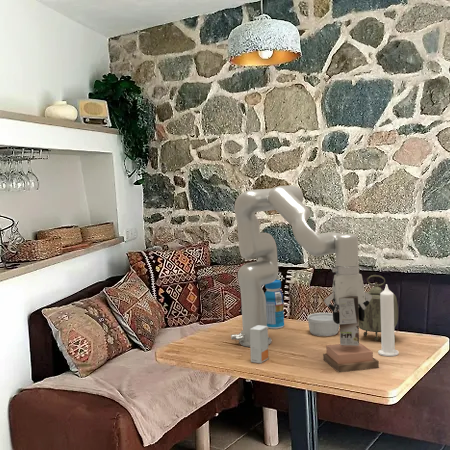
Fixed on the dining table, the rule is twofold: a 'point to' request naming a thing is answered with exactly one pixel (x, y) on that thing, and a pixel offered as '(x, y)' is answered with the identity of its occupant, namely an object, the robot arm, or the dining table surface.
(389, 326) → the candle
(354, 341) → the coffee box
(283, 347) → the dining table surface
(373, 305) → the tabletop clock
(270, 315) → the beverage bottle
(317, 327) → the ramekin
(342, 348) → the tower top block
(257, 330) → the skincare box
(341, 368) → the tower base block
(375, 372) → the dining table surface
